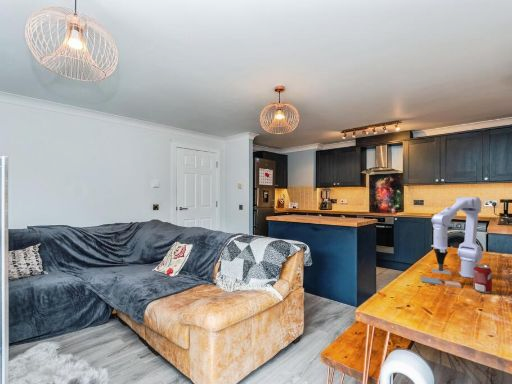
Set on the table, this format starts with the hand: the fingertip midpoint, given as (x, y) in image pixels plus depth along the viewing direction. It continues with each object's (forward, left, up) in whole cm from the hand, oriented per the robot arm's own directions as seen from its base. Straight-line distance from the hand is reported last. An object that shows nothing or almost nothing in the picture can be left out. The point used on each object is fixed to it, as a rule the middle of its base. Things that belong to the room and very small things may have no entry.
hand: (440, 263), depth 141 cm
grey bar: (0, 0, -5) cm, 5 cm away
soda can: (+6, +16, -10) cm, 20 cm away
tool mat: (0, -4, -10) cm, 10 cm away
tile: (-1, +5, -9) cm, 11 cm away
